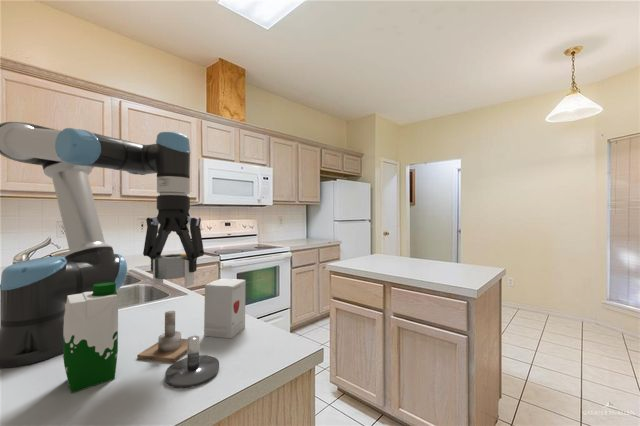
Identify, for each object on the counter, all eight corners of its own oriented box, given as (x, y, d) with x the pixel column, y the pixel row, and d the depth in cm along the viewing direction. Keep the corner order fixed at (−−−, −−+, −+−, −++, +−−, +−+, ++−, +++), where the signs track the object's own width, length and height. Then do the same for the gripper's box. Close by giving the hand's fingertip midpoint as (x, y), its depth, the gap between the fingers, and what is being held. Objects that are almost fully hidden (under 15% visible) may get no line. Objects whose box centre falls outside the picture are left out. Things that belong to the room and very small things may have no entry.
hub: (152, 384, 59) (153, 347, 59) (186, 358, 70) (186, 326, 70) (201, 391, 57) (201, 352, 57) (228, 362, 68) (228, 330, 68)
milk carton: (120, 378, 61) (121, 285, 61) (64, 397, 55) (65, 294, 55) (113, 363, 67) (114, 278, 67) (61, 378, 61) (62, 285, 61)
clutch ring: (147, 278, 69) (147, 256, 69) (170, 271, 77) (170, 251, 77) (177, 279, 68) (177, 257, 68) (197, 272, 76) (197, 252, 76)
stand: (137, 358, 69) (137, 317, 69) (166, 340, 79) (166, 304, 79) (174, 362, 68) (174, 320, 68) (198, 343, 78) (199, 307, 78)
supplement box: (231, 339, 81) (232, 286, 81) (203, 336, 82) (203, 284, 82) (246, 326, 89) (246, 279, 89) (220, 324, 91) (220, 277, 91)
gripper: (125, 194, 70) (125, 286, 70) (203, 193, 67) (203, 290, 67) (148, 196, 78) (148, 279, 78) (219, 195, 74) (219, 282, 74)
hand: (173, 284), depth 72 cm, fingers closed on clutch ring, 8 cm apart
